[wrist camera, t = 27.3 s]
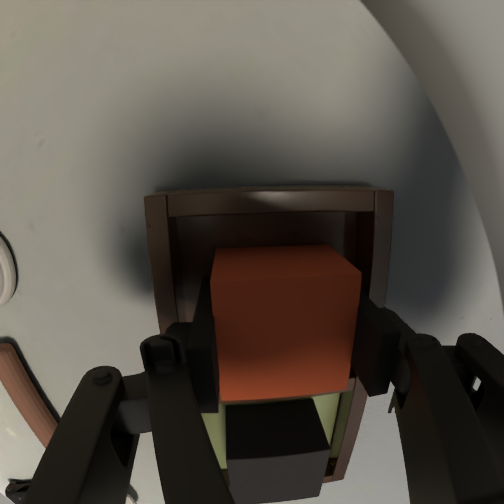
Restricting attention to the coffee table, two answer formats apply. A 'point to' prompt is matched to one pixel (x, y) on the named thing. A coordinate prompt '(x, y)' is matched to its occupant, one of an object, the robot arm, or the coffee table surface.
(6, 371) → the pizza cutter
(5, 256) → the chess piece
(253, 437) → the black cube
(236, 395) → the orange block
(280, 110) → the coffee table surface
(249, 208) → the frame
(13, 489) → the toy car
